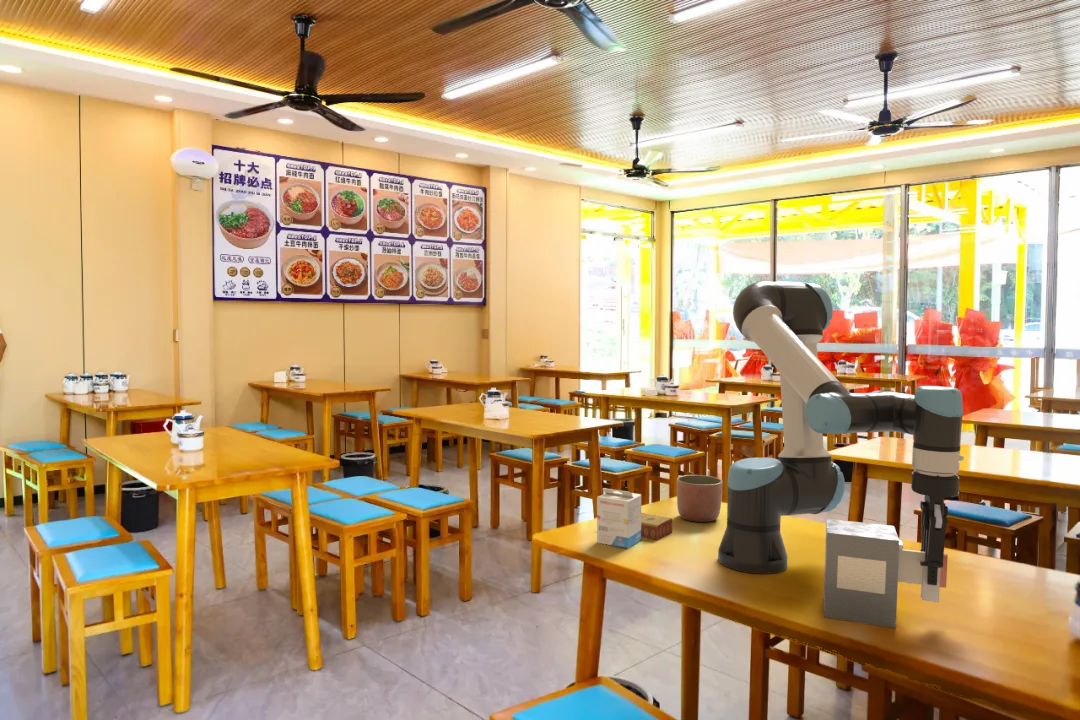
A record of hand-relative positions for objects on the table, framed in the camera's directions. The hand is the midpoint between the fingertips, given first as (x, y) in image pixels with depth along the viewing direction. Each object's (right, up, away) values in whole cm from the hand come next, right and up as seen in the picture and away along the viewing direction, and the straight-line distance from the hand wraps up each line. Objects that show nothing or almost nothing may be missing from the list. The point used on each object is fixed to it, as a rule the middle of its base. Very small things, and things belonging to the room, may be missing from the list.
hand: (929, 599), depth 130 cm
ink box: (-52, -1, +46) cm, 69 cm away
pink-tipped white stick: (-6, +3, +2) cm, 7 cm away
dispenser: (-11, -4, +5) cm, 13 cm away
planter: (-27, -1, +68) cm, 73 cm away
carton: (-46, -1, +55) cm, 72 cm away
